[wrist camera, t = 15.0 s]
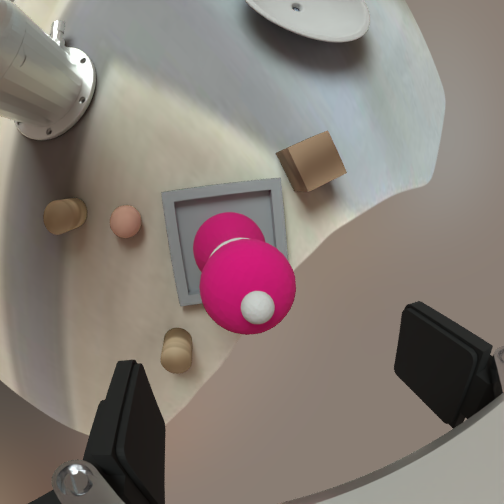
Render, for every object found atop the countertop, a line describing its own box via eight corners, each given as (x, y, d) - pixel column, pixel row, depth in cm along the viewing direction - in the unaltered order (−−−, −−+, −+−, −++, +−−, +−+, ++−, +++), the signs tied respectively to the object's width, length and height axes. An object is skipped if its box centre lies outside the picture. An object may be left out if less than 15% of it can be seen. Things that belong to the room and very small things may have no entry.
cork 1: (60, 201, 30) (41, 204, 25) (84, 195, 31) (68, 197, 26) (64, 230, 31) (46, 237, 26) (89, 225, 32) (73, 231, 27)
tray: (163, 191, 32) (161, 192, 30) (276, 178, 34) (280, 177, 32) (181, 299, 35) (180, 306, 33) (285, 283, 37) (289, 289, 35)
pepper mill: (269, 230, 34) (352, 286, 15) (235, 282, 35) (278, 389, 16) (215, 196, 33) (237, 213, 13) (182, 251, 33) (162, 338, 14)
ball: (112, 206, 32) (103, 209, 28) (141, 201, 32) (135, 203, 29) (117, 237, 32) (108, 243, 29) (146, 232, 33) (140, 238, 29)
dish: (211, 21, 28) (213, 1, 23) (254, -40, 26) (261, -59, 21) (337, 77, 32) (355, 65, 28) (363, 11, 30) (379, -3, 26)
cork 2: (161, 329, 36) (157, 349, 31) (189, 326, 36) (188, 346, 32) (167, 353, 37) (164, 374, 32) (194, 350, 37) (194, 371, 32)
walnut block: (275, 153, 34) (287, 148, 29) (311, 137, 34) (327, 130, 29) (293, 191, 35) (308, 192, 30) (328, 173, 35) (346, 172, 30)
